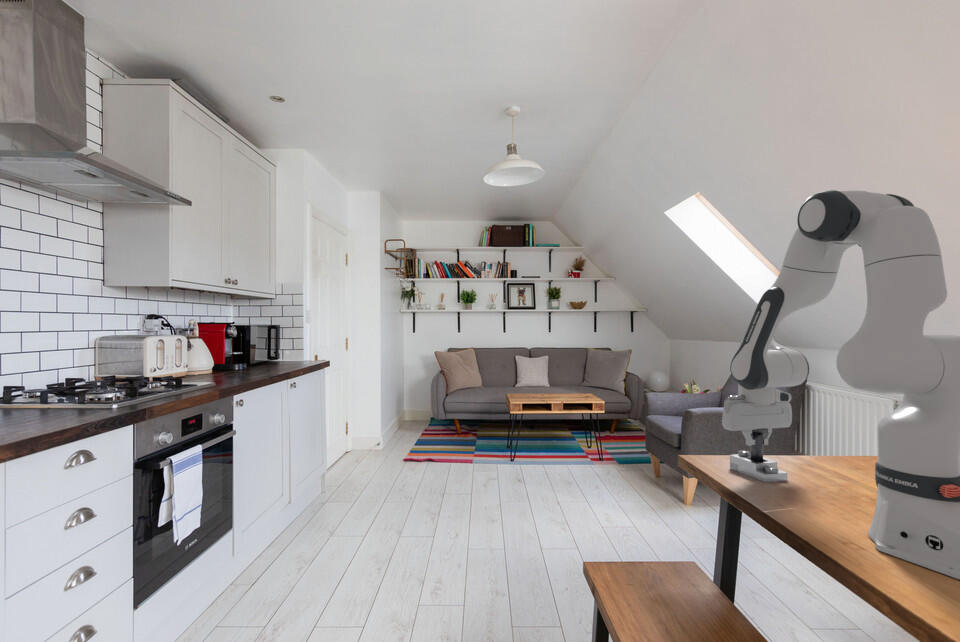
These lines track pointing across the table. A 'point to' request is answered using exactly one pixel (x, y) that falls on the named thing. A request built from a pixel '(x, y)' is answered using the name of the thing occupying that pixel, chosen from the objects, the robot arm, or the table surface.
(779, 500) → the table surface
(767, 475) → the slotted ball-knob block
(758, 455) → the pin
